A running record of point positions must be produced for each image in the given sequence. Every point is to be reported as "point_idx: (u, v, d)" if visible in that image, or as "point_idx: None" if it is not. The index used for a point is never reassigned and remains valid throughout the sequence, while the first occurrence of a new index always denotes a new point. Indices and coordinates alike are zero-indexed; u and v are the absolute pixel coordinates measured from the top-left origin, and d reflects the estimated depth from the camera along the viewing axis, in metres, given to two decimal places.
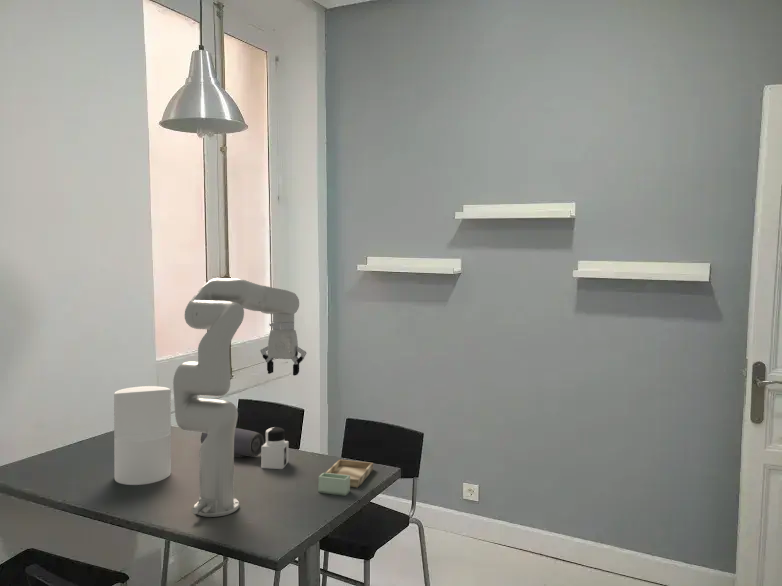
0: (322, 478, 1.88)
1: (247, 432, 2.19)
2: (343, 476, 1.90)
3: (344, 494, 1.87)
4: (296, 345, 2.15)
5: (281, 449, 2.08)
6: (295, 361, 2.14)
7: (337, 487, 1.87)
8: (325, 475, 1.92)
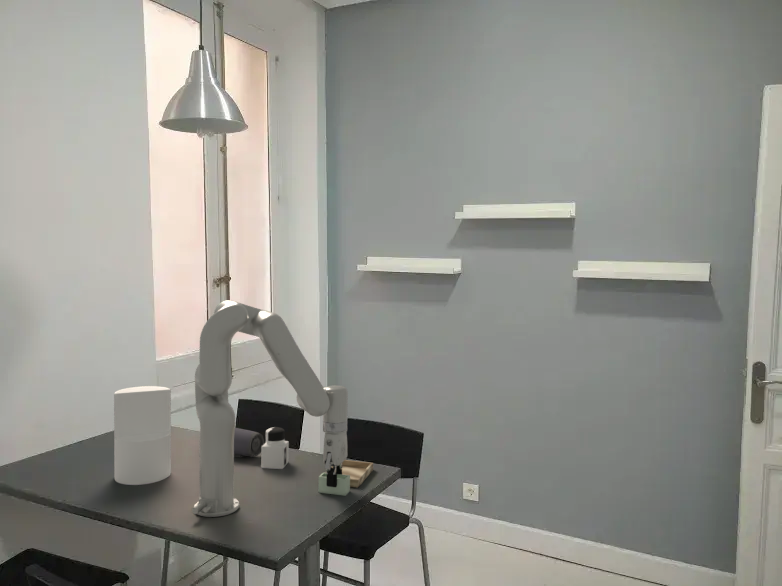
0: (322, 478, 1.88)
1: (247, 432, 2.19)
2: (343, 476, 1.90)
3: (344, 494, 1.87)
4: None
5: (281, 449, 2.08)
6: (341, 465, 1.92)
7: (337, 487, 1.87)
8: (325, 475, 1.92)
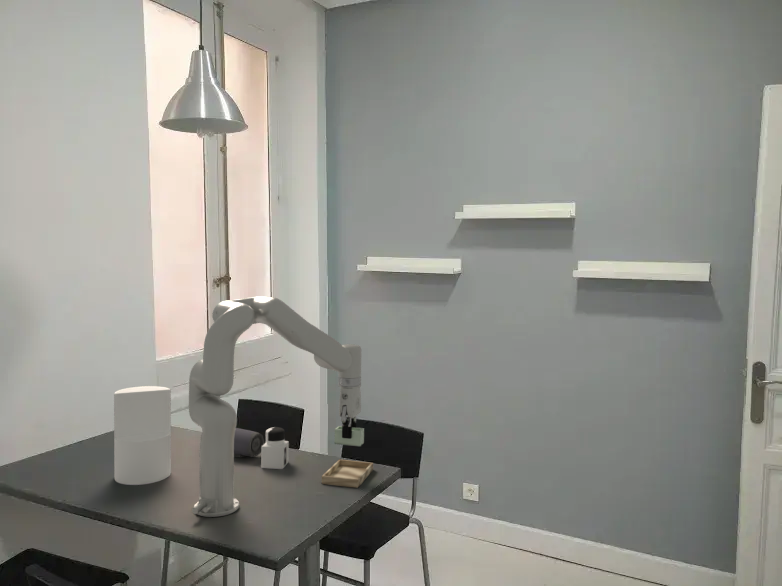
0: (338, 430, 2.01)
1: (247, 432, 2.19)
2: (357, 429, 2.03)
3: (359, 445, 2.00)
4: None
5: (281, 449, 2.08)
6: (355, 419, 2.05)
7: (352, 438, 2.00)
8: (340, 428, 2.05)
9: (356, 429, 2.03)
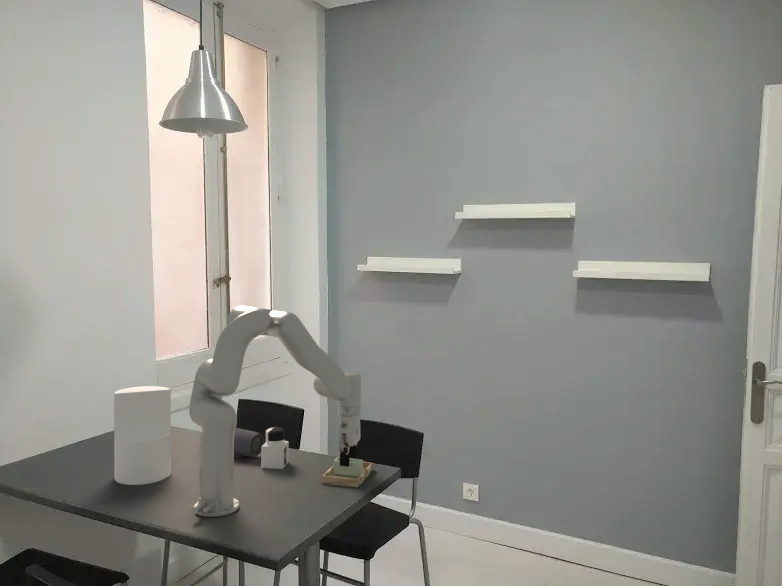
0: (337, 462, 2.02)
1: (247, 432, 2.19)
2: (356, 460, 2.04)
3: None
4: None
5: (281, 449, 2.08)
6: (356, 443, 2.07)
7: (351, 470, 2.01)
8: (339, 459, 2.05)
9: (355, 460, 2.04)
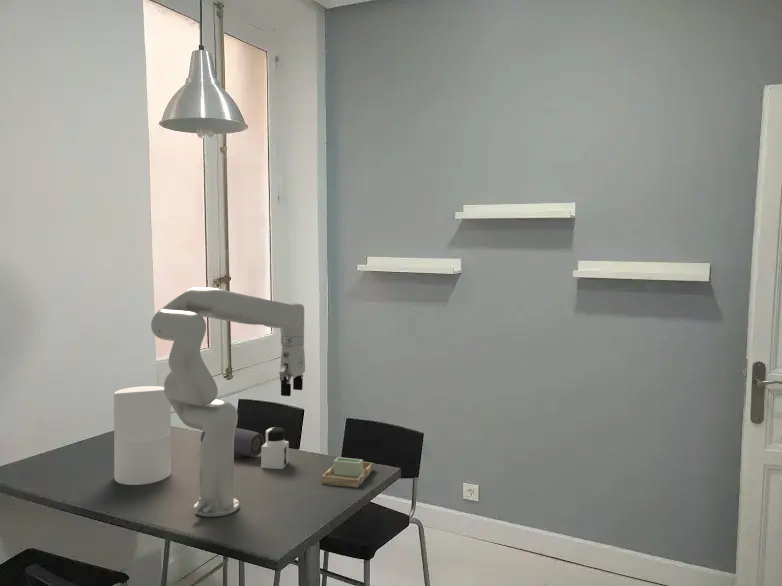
0: (337, 462, 2.02)
1: (247, 432, 2.19)
2: (356, 460, 2.04)
3: None
4: None
5: (281, 449, 2.08)
6: (302, 374, 2.05)
7: (351, 470, 2.01)
8: (339, 459, 2.05)
9: (355, 460, 2.04)
